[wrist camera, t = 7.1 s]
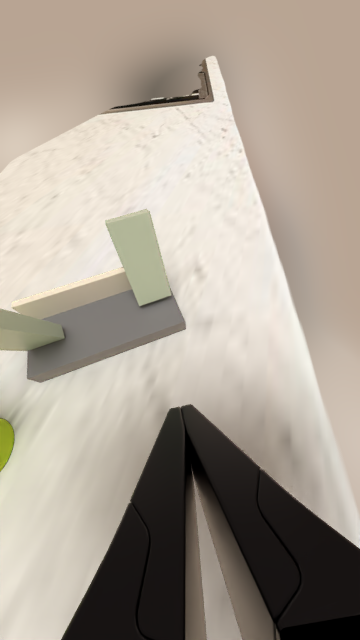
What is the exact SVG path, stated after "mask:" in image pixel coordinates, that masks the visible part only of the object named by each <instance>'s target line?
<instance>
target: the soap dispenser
mask: <svg viewBox="0 0 360 640" xmlns="http://www.w3.org/2000/svg"><path fill="white" fill-rule="evenodd" d="M13 443H14V432H13V429H12V427H11V425H10V424H9V422H7V421H6V420H4V419H1V418H0V471H1V470H2V468H3V467H4V466H5V464H6V462H7V460H8V459H9V456H10V454H11V451H12V448H13Z"/></svg>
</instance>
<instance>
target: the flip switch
mask: <svg viewBox="0 0 360 640" xmlns="http://www.w3.org/2000/svg"><path fill="white" fill-rule="evenodd" d="M105 223H106V226H107V229H108V231H109V234H110V236H111V239H112V241H113V243H114V246H115V248H116V251H117V253H118V256H119V258H120V260H121V263H122V265H123V268H124V270H125V273H126V275H127V277H128V280H129V282H130V285H131V287H132V290H133V292H134V294H135V297H136V299H137V302H138V304H139V306H141V305H144V304H147V303H150V302H153V301H156V300H159V299H162V298H165V297H168V296H171V291H170V287H169V283H168V279H167V276H166V272H165V268H164V264H163V260H162V257H161V253H160V249H159V245H158V241H157V237H156V234H155V230H154V226H153V222H152V218H151V215H150V211H148V210H147V209H145V210H141V211H138V212H134V213H131V214H127V215H124V216H120V217H117V218H113V219H110V220H106V221H105Z"/></svg>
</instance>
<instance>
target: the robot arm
mask: <svg viewBox="0 0 360 640" xmlns="http://www.w3.org/2000/svg"><path fill="white" fill-rule="evenodd" d="M192 471H193V473H192ZM193 476H194V480H195V483H196V487H197V490H198V494H199V497H200V500H201V503H202V507H203V510H204V513H205V517H206V520H207V523H208V527H209V530H210V533H211V537H212V540H213V543H214V547H215V550H216V553H217V557H218V560H219V563H220V567H221V570H222V573H223V576H224V580H225V583H226V586H227V590H228V593H229V596H230V600H231V603H232V606H233V610H234V613H235V616H236V620H237V623H238V626H239V630H240V633H241V636H242V640H360V549H359V548H358V547H356V546H355V545H354V544H353V543H351V542H350V541H349V540H347V539H346V538H345V537H344V536H342V535H341V534H340V533H338V532H337V531H336V530H334V529H333V528H332V527H331V526H329V525H328V524H327V523H325V522H324V521H323V520H321V519H320V518H319V517H318V516H316V515H315V514H314V513H313V512H311V511H310V510H309V509H308V508H306V507H305V506H304V505H303V504H301V503H300V502H299V501H298V500H296V499H295V498H294V497H293V496H292V495H290V494H289V493H288V492H287V491H286V490H285V489H284V488H282V487H281V486H280V485H279V484H278V483H277V482H276V481H275V480H273V479H272V478H271V477H270V476H269V475H268V474H267V473H266V472H265V471H264V470H262V469H261V470H260V467H259V466H258V465H257V464H256V463H255V462H254V461H253V460H252V459H250V458H249V457H248V456H247V455H246V454H245V453H244V452H243V451H242V450H241V449H240V448H239V447H237V446H236V445H235V444H234V443H233V442H232V441H231V440H230V439H229V438H228V437H227V436H225V435H224V434H223V433H222V432H221V431H220V430H219V429H218V428H217V427H216V426H215V425H214V424H212V423H211V422H210V421H209V420H208V419H207V418H206V417H205V416H204V415H203V414H202V413H200V412H199V411H198V410H197V409H196V408H195V407H194V406H193V405H191V404H190V405H185V406H182V407H181V408H180V407H176V408H171V409H170V410H169V412H168V414H167V416H166V419H165V421H164V423H163V425H162V428H161V430H160V432H159V435H158V437H157V439H156V442H155V444H154V446H153V449H152V451H151V453H150V456H149V458H148V460H147V463H146V465H145V467H144V470H143V472H142V474H141V477H140V479H139V481H138V483H137V486H136V488H135V490H134V493H133V495H132V497H131V500H130V502H131V503H129V504H128V506H127V509H126V511H125V513H124V516H123V518H122V520H121V523H120V525H119V527H118V529H117V531H116V533H115V536H114V538H113V540H112V542H111V544H110V546H109V549H108V551H107V553H106V555H105V557H104V558H103V560H102V562H101V564H100V566H99V568H98V570H97V572H96V574H95V576H94V578H93V580H92V582H91V584H90V586H89V588H88V590H87V592H86V593H85V595H84V597H83V599H82V601H81V603H80V605H79V607H78V609H77V610H76V612H75V614H74V616H73V618H72V620H71V622H70V624H69V626H68V627H67V629H66V631H65V633H64V635H63V637H62V639H61V640H207V638H206V626H205V614H204V601H203V589H202V577H201V565H200V553H199V541H198V528H197V516H196V504H195V492H194V481H193Z"/></svg>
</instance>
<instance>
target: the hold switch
mask: <svg viewBox="0 0 360 640" xmlns="http://www.w3.org/2000/svg"><path fill="white" fill-rule="evenodd" d="M64 338H65V337H64V333H63V330H62V326H61V325H59V324H56V323H52V322H48V321H44V320H41V319H37V318H33V317H30V316H26V315H22V314H18V313H15V312H11V311H7V310H3V309H0V350H11V351H30V350H32V349H35V348H38V347H41V346H44V345H47V344H50V343H53V342H55V341H58V340H61V339H64Z"/></svg>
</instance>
